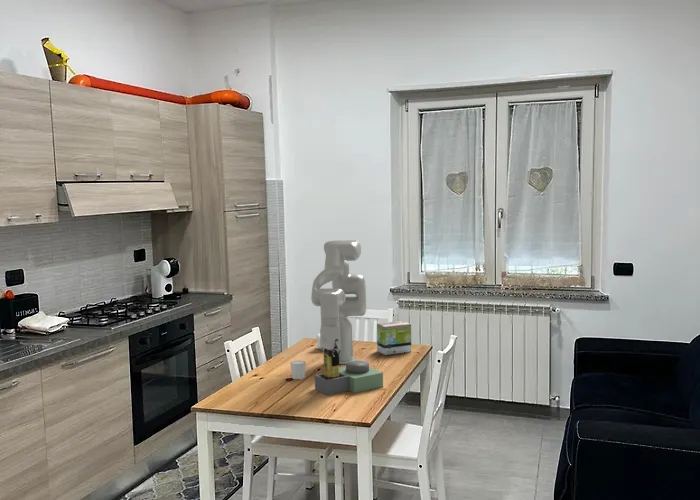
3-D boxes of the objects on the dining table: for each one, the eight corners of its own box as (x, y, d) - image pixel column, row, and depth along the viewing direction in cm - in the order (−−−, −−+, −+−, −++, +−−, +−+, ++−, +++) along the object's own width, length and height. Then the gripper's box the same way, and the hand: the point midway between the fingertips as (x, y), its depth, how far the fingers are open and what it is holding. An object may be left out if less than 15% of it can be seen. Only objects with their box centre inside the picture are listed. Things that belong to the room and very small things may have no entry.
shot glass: (308, 376, 290) (308, 360, 290) (302, 380, 284) (302, 365, 283) (294, 375, 292) (294, 360, 292) (288, 379, 286) (287, 364, 285)
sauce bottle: (325, 377, 272) (323, 330, 271) (339, 376, 272) (338, 330, 270) (323, 381, 266) (322, 334, 264) (339, 381, 266) (337, 333, 264)
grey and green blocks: (310, 386, 274) (310, 366, 274) (360, 376, 287) (360, 356, 286) (331, 397, 259) (330, 375, 258) (383, 386, 272) (382, 365, 271)
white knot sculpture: (338, 346, 344) (337, 329, 343) (339, 351, 332) (338, 334, 331) (317, 347, 343) (316, 330, 342) (317, 352, 331) (316, 335, 330)
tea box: (385, 355, 321) (384, 326, 320) (376, 351, 330) (376, 323, 329) (412, 352, 327) (411, 323, 326) (402, 347, 336) (402, 319, 335)
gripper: (312, 319, 272) (313, 360, 274) (332, 326, 257) (333, 370, 259) (328, 317, 276) (329, 358, 278) (348, 323, 261) (349, 366, 263)
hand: (331, 363), depth 268 cm, fingers closed on sauce bottle, 6 cm apart
